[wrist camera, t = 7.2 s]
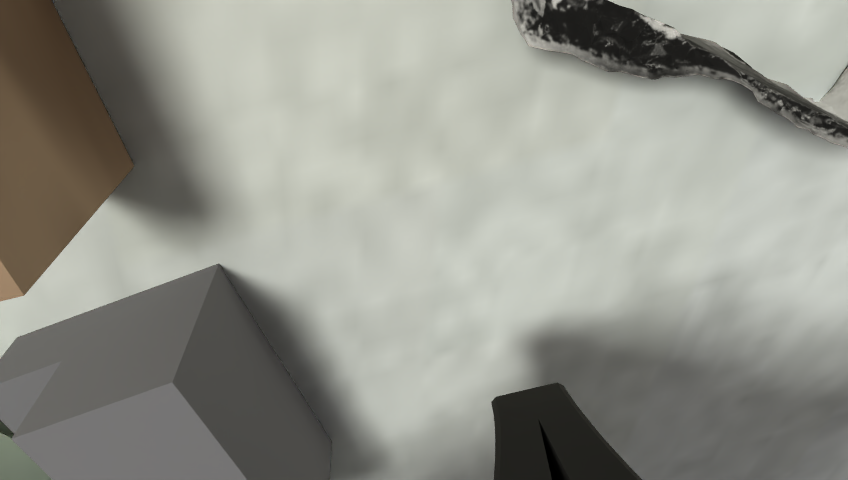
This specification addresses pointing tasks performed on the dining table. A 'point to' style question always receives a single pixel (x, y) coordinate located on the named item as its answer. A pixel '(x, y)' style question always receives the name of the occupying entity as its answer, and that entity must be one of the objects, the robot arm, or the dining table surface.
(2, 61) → the brown wooden plank
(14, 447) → the door
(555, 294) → the dining table surface
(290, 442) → the grey stepped block
